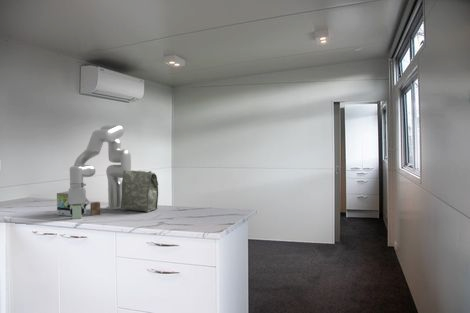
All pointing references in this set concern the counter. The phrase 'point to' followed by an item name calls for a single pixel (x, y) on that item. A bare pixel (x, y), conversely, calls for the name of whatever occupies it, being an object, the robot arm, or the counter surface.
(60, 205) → the tea box
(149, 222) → the counter surface
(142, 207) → the bag
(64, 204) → the robot arm
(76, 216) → the green block
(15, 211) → the counter surface
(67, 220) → the counter surface
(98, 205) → the walnut block
